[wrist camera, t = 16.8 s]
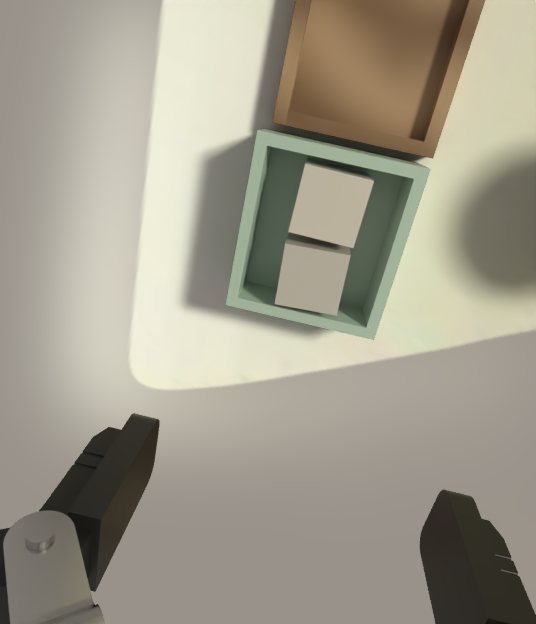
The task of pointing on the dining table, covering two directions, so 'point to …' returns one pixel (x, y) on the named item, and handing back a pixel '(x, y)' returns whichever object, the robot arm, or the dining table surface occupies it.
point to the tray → (375, 69)
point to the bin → (364, 256)
